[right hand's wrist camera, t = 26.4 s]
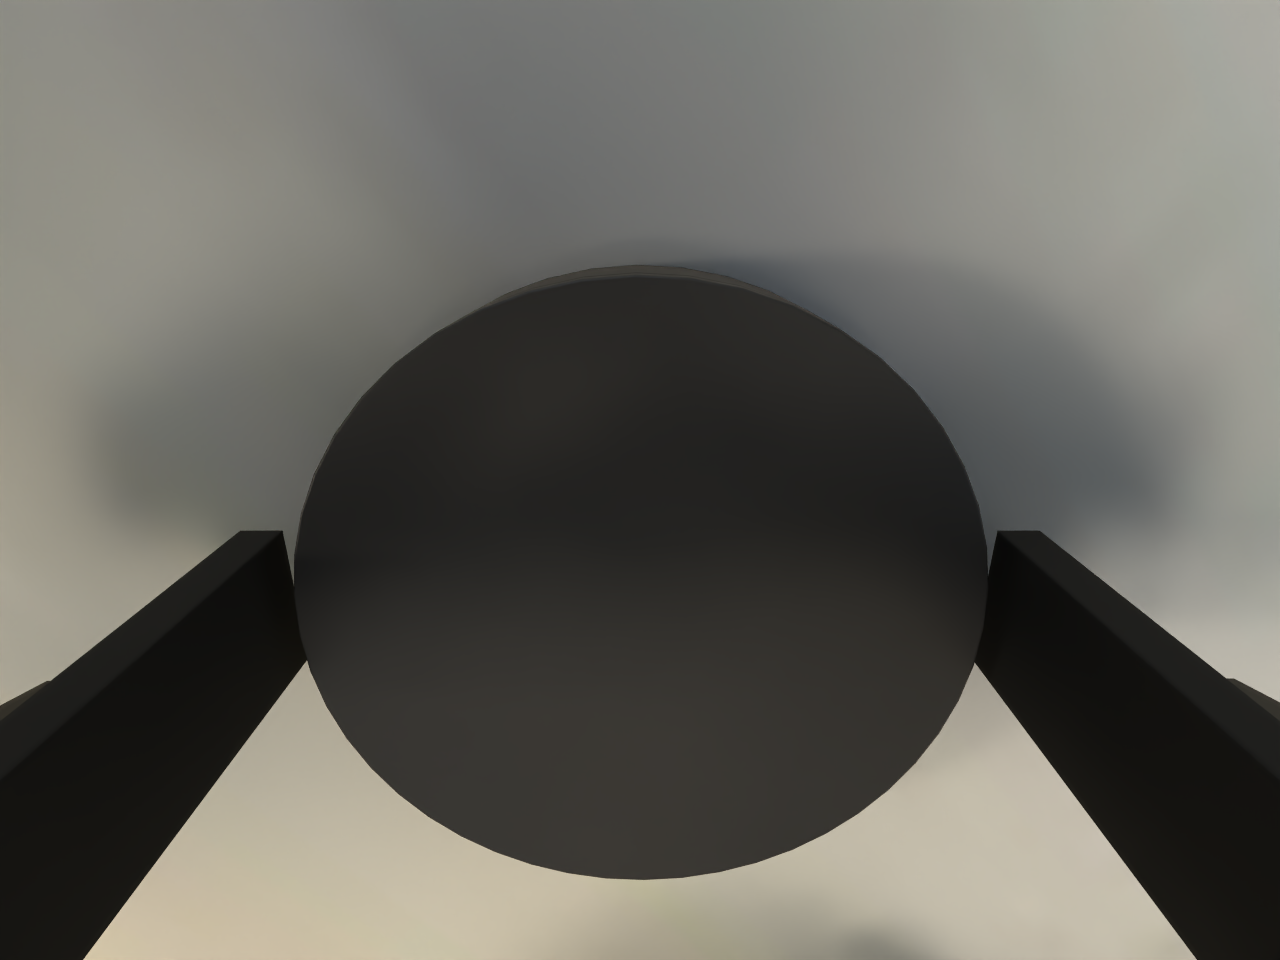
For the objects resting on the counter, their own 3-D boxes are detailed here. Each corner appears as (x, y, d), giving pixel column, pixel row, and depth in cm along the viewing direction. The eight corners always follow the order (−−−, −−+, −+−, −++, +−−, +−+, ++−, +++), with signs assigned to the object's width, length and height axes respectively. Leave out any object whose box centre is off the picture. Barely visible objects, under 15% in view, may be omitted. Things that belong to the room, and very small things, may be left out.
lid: (1057, 567, 14) (1127, 627, 12) (644, 874, 17) (645, 963, 15) (634, 103, 11) (632, 77, 9) (226, 575, 14) (157, 636, 12)
